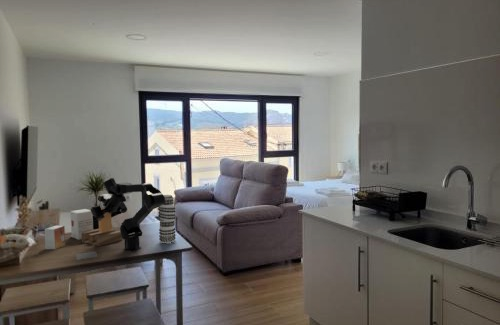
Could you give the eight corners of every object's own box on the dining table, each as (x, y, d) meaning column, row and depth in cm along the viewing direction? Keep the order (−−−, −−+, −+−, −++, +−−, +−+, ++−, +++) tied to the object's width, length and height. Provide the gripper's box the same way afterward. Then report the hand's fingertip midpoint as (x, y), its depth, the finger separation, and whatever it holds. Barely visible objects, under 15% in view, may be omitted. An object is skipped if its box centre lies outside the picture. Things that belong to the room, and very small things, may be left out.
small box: (54, 250, 188) (53, 229, 187) (45, 249, 189) (44, 228, 188) (65, 245, 196) (64, 225, 195) (56, 244, 197) (55, 225, 196)
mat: (95, 252, 184) (95, 251, 184) (97, 257, 176) (97, 256, 176) (75, 255, 180) (75, 254, 180) (76, 260, 172) (76, 259, 172)
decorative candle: (155, 243, 198) (154, 196, 196) (163, 238, 207) (162, 193, 205) (171, 244, 196) (170, 197, 194) (179, 239, 205) (177, 194, 203)
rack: (122, 240, 204) (122, 231, 204) (99, 246, 193) (98, 237, 192) (105, 235, 213) (104, 227, 213) (81, 241, 202) (81, 232, 202)
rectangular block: (111, 230, 202) (110, 208, 202) (101, 232, 198) (100, 210, 197) (109, 229, 204) (108, 207, 203) (98, 231, 199) (98, 209, 198)
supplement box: (71, 237, 212) (69, 210, 210) (86, 233, 218) (85, 208, 217) (77, 240, 206) (76, 213, 204) (93, 236, 212) (92, 210, 211)
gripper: (123, 187, 204) (111, 205, 211) (91, 191, 189) (80, 210, 196) (132, 202, 200) (121, 220, 207) (101, 208, 185) (89, 227, 192)
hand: (103, 219), depth 201 cm, fingers closed on rectangular block, 6 cm apart
